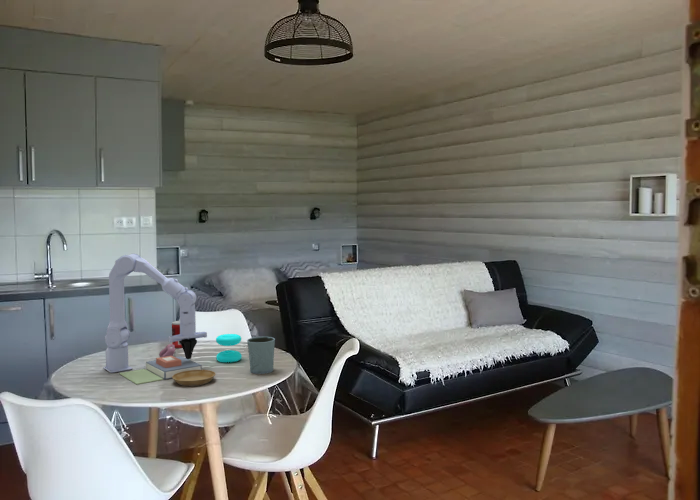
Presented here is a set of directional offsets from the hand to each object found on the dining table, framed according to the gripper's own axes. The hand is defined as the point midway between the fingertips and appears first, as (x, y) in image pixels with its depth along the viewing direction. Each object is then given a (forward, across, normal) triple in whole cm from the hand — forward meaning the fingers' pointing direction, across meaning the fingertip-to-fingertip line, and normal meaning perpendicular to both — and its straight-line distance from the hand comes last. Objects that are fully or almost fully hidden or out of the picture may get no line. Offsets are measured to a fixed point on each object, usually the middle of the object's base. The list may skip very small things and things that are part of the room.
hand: (188, 358), depth 227 cm
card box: (+1, -8, 0) cm, 8 cm away
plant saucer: (+4, -6, -18) cm, 19 cm away
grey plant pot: (+4, +20, -20) cm, 29 cm away
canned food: (+4, +14, +40) cm, 42 cm away
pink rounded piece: (+4, +1, +22) cm, 22 cm away
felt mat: (+4, -18, 0) cm, 18 cm away
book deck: (+4, -6, 0) cm, 7 cm away
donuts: (+4, +18, +2) cm, 19 cm away
